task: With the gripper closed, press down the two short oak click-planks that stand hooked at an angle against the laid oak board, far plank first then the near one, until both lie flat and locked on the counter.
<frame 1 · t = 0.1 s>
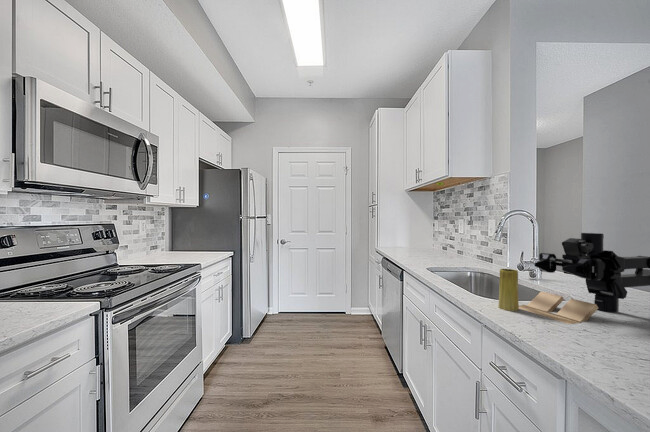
hand: (548, 266, 103), 17 cm above the countertop, tool horizontal, fingers open, 9 cm apart
laid board: (543, 318, 105), on the countertop
plank a: (544, 302, 111), point 3 cm above the countertop, hinge at 35.0°
vase: (508, 313, 110), on the countertop
plank b: (576, 311, 101), point 3 cm above the countertop, hinge at 35.0°
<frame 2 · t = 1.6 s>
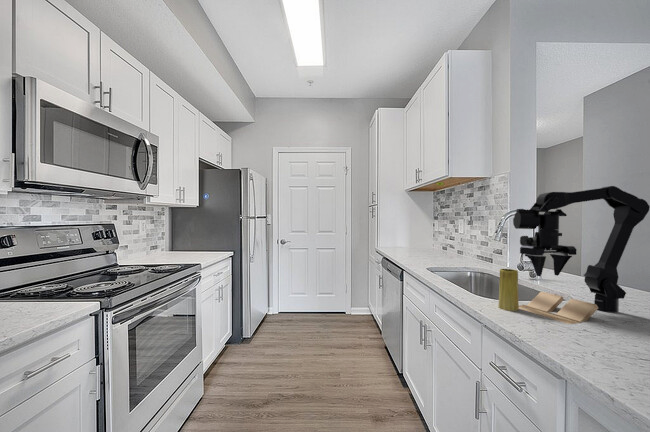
hand: (547, 275, 112), 12 cm above the countertop, tool pointing down, fingers open, 8 cm apart
nothing on the countertop moved.
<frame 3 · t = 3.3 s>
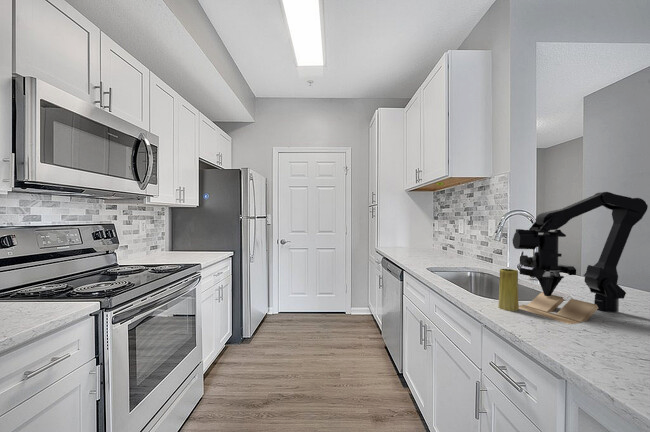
hand: (547, 296, 112), 5 cm above the countertop, tool pointing down, fingers closed
plank a: (544, 303, 112), point 3 cm above the countertop, hinge at 32.6°, touching gripper
everything else where it was.
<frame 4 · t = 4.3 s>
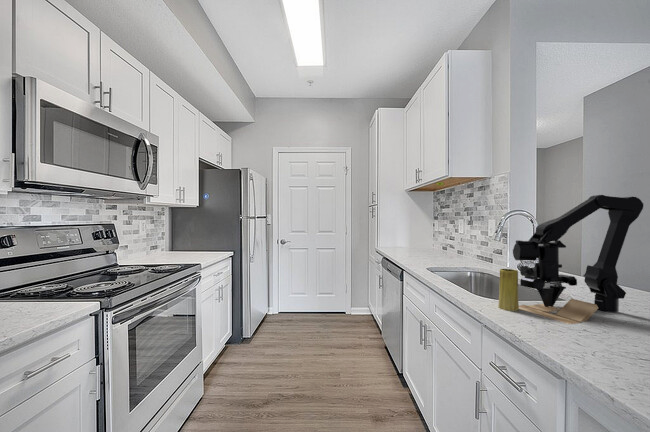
hand: (548, 306, 113), 2 cm above the countertop, tool pointing down, fingers closed, pressing on plank a
plank a: (545, 309, 112), point 1 cm above the countertop, hinge at 1.5°, touching gripper
everything else where it was.
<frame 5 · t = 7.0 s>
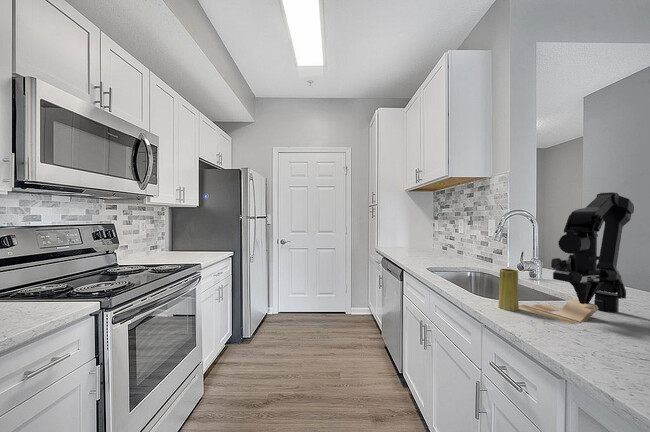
hand: (584, 303, 101), 6 cm above the countertop, tool pointing down, fingers closed
plank a: (545, 309, 112), point 1 cm above the countertop, hinge at 0.5°
plank b: (576, 311, 101), point 3 cm above the countertop, hinge at 33.8°, touching gripper
everything else where it was.
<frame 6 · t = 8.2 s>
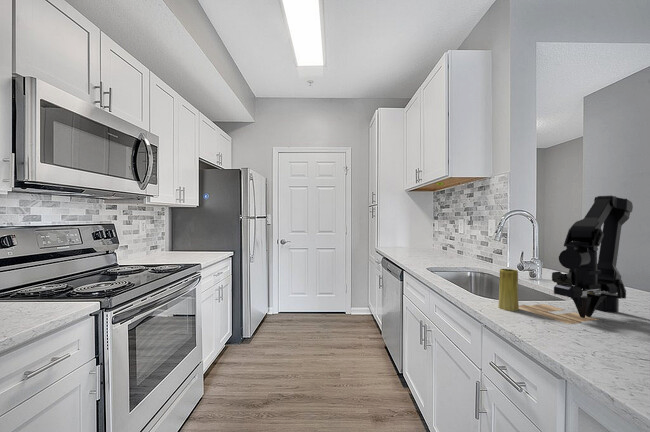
hand: (585, 317, 101), 1 cm above the countertop, tool pointing down, fingers closed on plank b, 2 cm apart
plank b: (577, 319, 102), point 1 cm above the countertop, hinge at 0.7°, touching gripper
everything else where it was.
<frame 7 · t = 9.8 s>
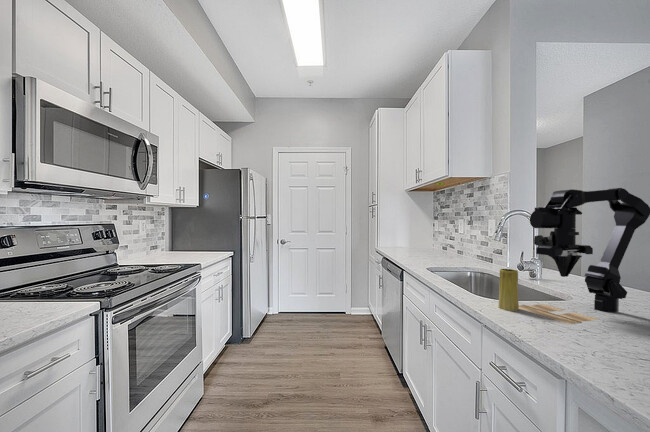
hand: (564, 276, 108), 13 cm above the countertop, tool pointing down, fingers closed
plank b: (577, 319, 102), point 1 cm above the countertop, hinge at 0.2°
everything else where it was.
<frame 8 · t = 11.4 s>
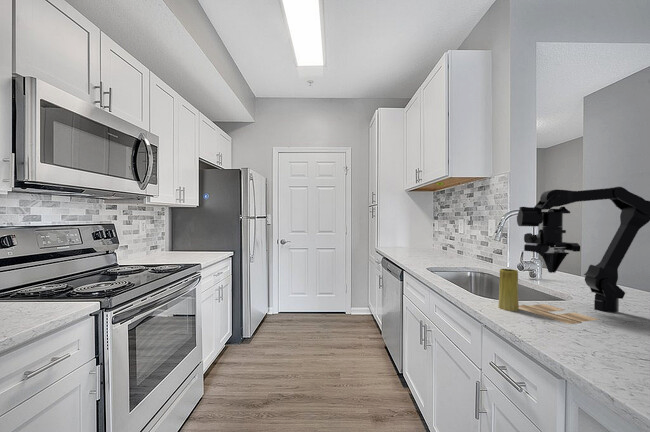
hand: (551, 272, 114), 13 cm above the countertop, tool pointing down, fingers closed
nothing on the countertop moved.
at the end: plank a at +0° (first picture: +35°); plank b at +0° (first picture: +35°) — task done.
